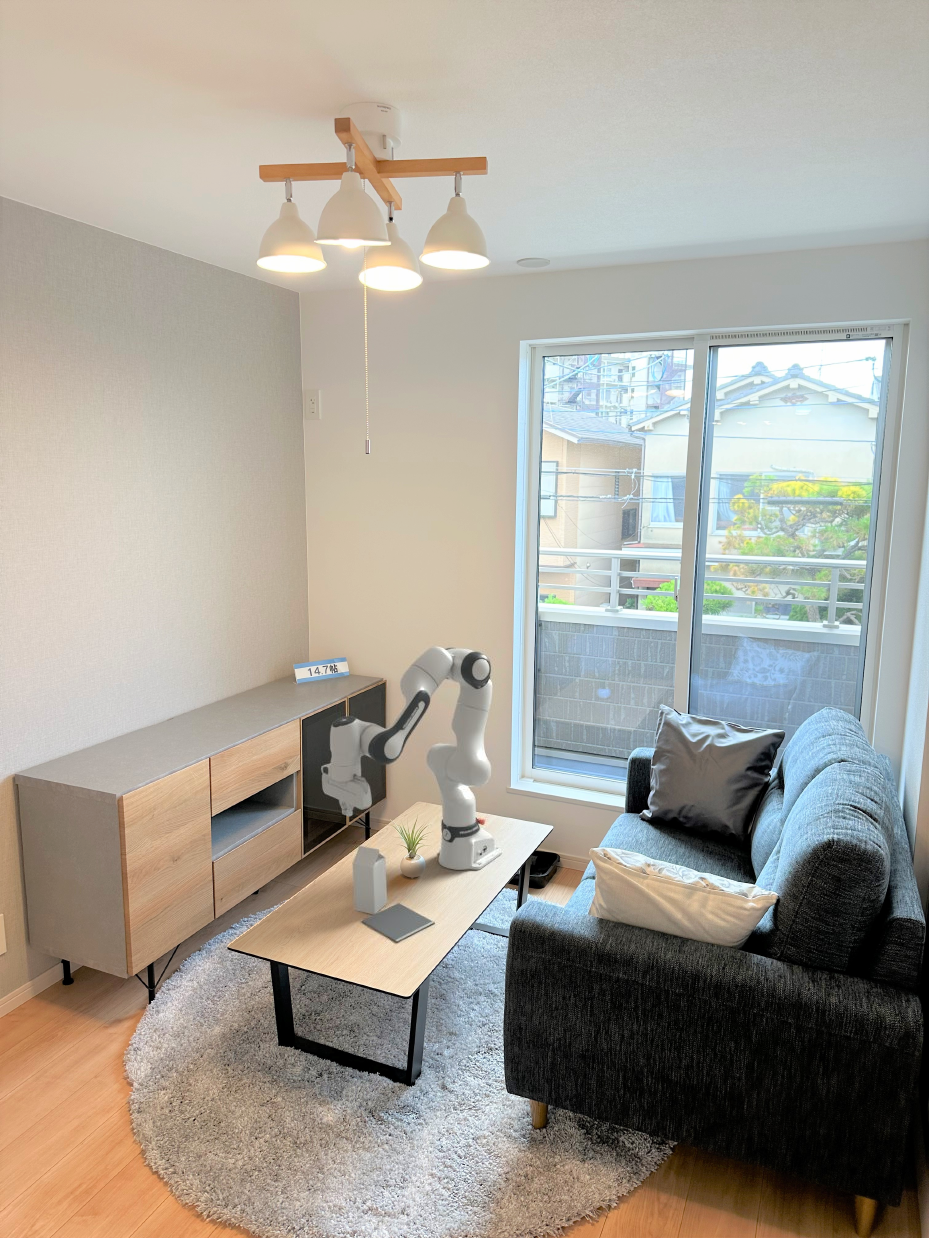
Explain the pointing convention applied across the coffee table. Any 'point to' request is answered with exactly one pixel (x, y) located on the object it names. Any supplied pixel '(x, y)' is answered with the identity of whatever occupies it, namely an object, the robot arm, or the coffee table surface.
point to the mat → (398, 922)
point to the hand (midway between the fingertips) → (347, 814)
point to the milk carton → (369, 880)
